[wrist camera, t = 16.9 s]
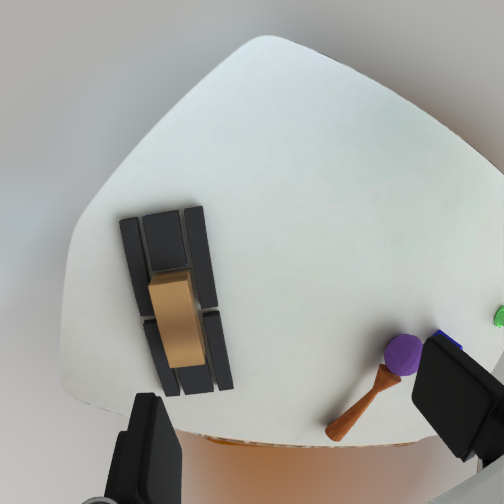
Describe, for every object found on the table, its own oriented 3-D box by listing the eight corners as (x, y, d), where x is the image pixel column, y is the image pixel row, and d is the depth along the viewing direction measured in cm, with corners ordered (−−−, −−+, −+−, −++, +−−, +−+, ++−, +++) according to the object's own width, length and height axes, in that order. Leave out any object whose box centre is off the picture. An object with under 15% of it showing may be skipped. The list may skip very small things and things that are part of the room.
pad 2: (144, 320, 35) (142, 324, 33) (219, 310, 35) (219, 314, 34) (166, 391, 37) (166, 396, 36) (233, 383, 38) (233, 389, 37)
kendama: (320, 441, 38) (411, 340, 34) (316, 416, 44) (396, 320, 40) (350, 451, 39) (439, 356, 34) (344, 427, 45) (422, 336, 40)
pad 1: (121, 219, 32) (118, 221, 30) (202, 206, 32) (202, 207, 31) (142, 312, 34) (140, 316, 33) (217, 302, 35) (218, 306, 34)
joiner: (154, 273, 33) (147, 285, 30) (189, 268, 34) (186, 280, 30) (173, 349, 36) (170, 368, 32) (204, 346, 36) (204, 364, 33)
